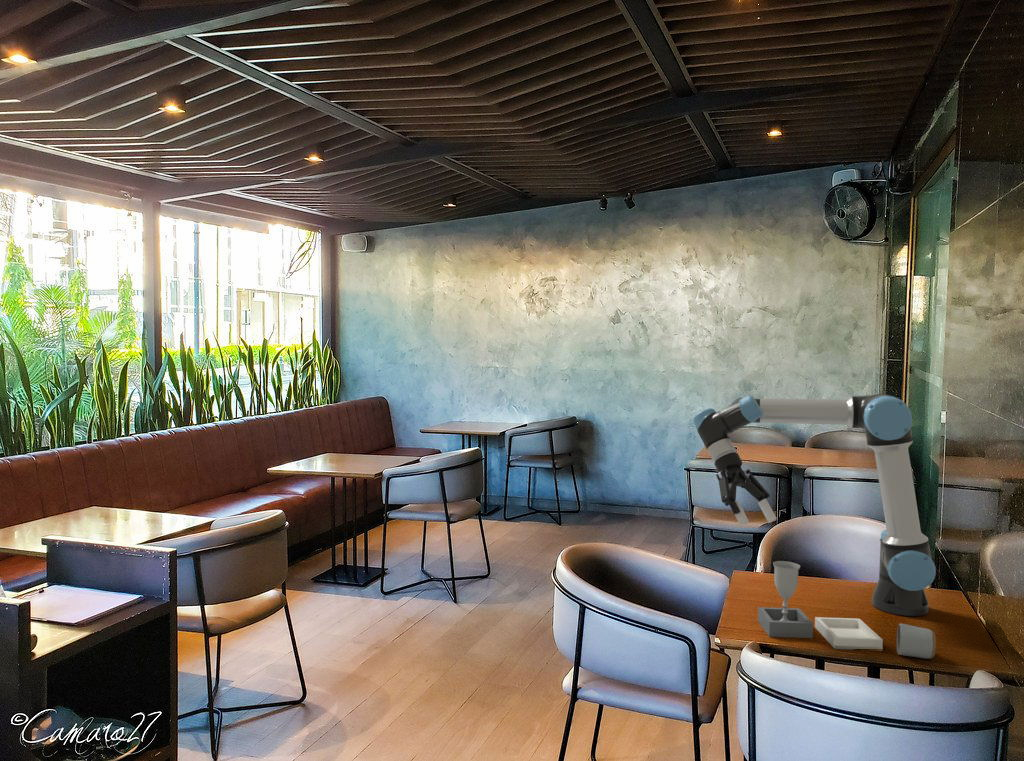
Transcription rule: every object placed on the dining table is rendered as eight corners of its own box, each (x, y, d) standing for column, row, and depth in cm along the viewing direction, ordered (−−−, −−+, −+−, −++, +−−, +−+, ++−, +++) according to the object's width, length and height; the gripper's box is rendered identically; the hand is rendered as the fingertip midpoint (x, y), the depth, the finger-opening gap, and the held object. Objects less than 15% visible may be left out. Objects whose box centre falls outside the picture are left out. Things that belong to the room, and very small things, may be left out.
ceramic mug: (936, 664, 187) (937, 633, 187) (899, 659, 190) (900, 628, 190) (928, 649, 197) (930, 619, 197) (893, 644, 200) (894, 615, 200)
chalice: (803, 631, 208) (805, 566, 207) (788, 636, 204) (790, 570, 203) (780, 622, 214) (782, 559, 213) (765, 627, 210) (767, 563, 209)
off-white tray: (859, 628, 210) (859, 618, 210) (882, 650, 195) (882, 639, 195) (814, 627, 211) (815, 617, 211) (834, 648, 196) (834, 638, 196)
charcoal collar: (799, 622, 214) (799, 608, 214) (812, 638, 203) (813, 623, 203) (757, 621, 215) (758, 607, 215) (769, 636, 203) (769, 621, 203)
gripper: (741, 463, 236) (774, 525, 226) (689, 464, 221) (722, 531, 210) (758, 450, 231) (793, 513, 221) (707, 451, 216) (742, 519, 206)
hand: (759, 522), depth 216 cm, fingers open, 13 cm apart
